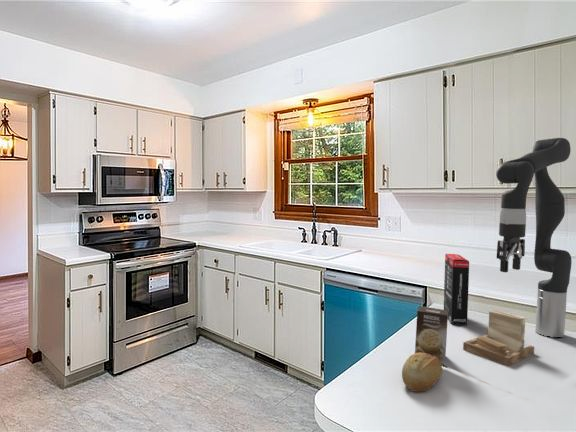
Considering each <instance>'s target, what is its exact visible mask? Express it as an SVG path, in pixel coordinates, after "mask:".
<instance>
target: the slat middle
mask: <svg viewBox="0 0 576 432" xmlns="http://www.w3.org/2000/svg"><path fill="white" fill-rule="evenodd" d="M474 345H477V346H479V347H482V348H485V349H488V348H486V347H483V346H481V345H479V344H474ZM488 350H490V349H488ZM491 351H493V350H491ZM494 352H495V351H494ZM500 354H503V355H506V356H507V355H510V352H509V351H506V352H502V353H500Z"/></svg>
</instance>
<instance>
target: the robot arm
mask: <svg viewBox="0 0 576 432" xmlns="http://www.w3.org/2000/svg"><path fill="white" fill-rule="evenodd" d="M570 144H571V143H570V141H569V140H568V139H567V138H566V137H565V138H564V137H554V138H547V139H539V140H537V141H535V142H534V143H533V146H532V151H531V152H529V153H527V154H525V155H522V156H521V157H518V158H515V159H511V160H507V161H504V162H502V163H501V164H499V166H498V167H497V169H496V172H495V175H496V179H497V180H498V181H499V182H500V183H502V184H516V186H515V188H514V189H510V190H505V191H503V192H502V194H501V199H500V200H501V201H500V213H499V223H498V224H499V226H498V230H499V231H498V235H499V236H500V237H503V240H497V245H496V246H497V247H496V248H497V249H496V259H498V260H499V261H500V262H499V263H500V266H499V271H500V272H502V273H508V272H509V263H510V262H509V260H510V257H511V256H512V270H517V271H518V270H520V269H521V260H522V259H523V257H525V256H526V255H525V254H526V253H525V249H526V247H525V246H526V239H525V237H526V231H527V229H526V226H527V213H526V211H527V208H526V207H527V206H526V205H527V197H528V196H527V195H528V192H529V189H530V187H531V183H532V181H533V179H534V184H535V187H534V190H535V191H534V192H535V193H534V194H535V197H534V199H535V200H534V203H535V204H534V205H535V243H534V252H533V253H534V254H533V255H534V257H533V259H534V265H535V267H536V269H537V270H539V271H541V272H542V271H543V272H547V273H552V275H551V278H549V279H545V280H544V279H543V280H540V281H538V283H537V294H536V295H537V299H536V314H535V315H536V317H535V332H536V334H537V335H540V334H541V336H543V335H544V337H547V336H550V337H549V338H553V337H563V336H564V337H565V329H566V312H567V295H568V294H567V293H568V287H569V284H570V277H571V270H572V262H573V261H572V255H571V254H570V252H569V251H568V250H564V249H559V248H557V249H556V248H552V247H551V245H552V243H551V242H552V236H553V234H554V232H555V230H556V229H557V228H558V227H559V225H560V224H561V222H562V221H563V219H564V217H565V214H566V213H565V212H566V208H565V207H566V206H565V203H566V201H565V196H564V194H563V193H562V191H561V190H560V189H559V187H558V186H557V185H556V184H555V183H554V181H553V180H552V178H551V176H550V174H549V171H548V167H550V166H552V165H555V164H559V163H564V162H565V161H567V160H568V159H569V157H570V156H571V152H572V151H571V145H570ZM564 337H563V338H564Z"/></svg>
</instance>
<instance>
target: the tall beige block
mask: <svg viewBox="0 0 576 432" xmlns="http://www.w3.org/2000/svg"><path fill="white" fill-rule="evenodd" d="M487 328H488V329H487V331H488V333H487V334H488V338H490V339H492V340H494V341H497V342H499V343H502V344H504V345H507V350H506V351H509V353H510V354H512V353H514V352H517V351H519V350H521V349H523V348H525V334H526V333H525V332H526V317H525V316H521V315H518V314H512V313H508V312H505V311H501V310H497V309H492V310H489V312H488V327H487Z"/></svg>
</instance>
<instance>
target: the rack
mask: <svg viewBox="0 0 576 432" xmlns="http://www.w3.org/2000/svg"><path fill="white" fill-rule="evenodd" d="M479 337H487V338H488V333H486V334H483V335H481V336H478V337H475V338H471V339H470V340H466V341H464V342H462V343H463V344H462V349H463V351H466V352H469V353H472V354H475V355H477V356H481V357H483V358H485V359H488V360H491V361H494V362H497V363H499V364H502V365H504V366H507V367H510V366H511V365H513V364H516V363H517V362H519V361H521V360H524V359H526V358H528V357H530V356H533V355H534V354H535V346H533V345H528V346H526V347H524V348H523V349H521V350H519V351H517V352H514V353H509V355H507V356H506V355H503V354H500V353H497V352H494V351H491V350H488V349H485V348H482V347H479V346H477V345H474V344H477V338H479Z"/></svg>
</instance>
